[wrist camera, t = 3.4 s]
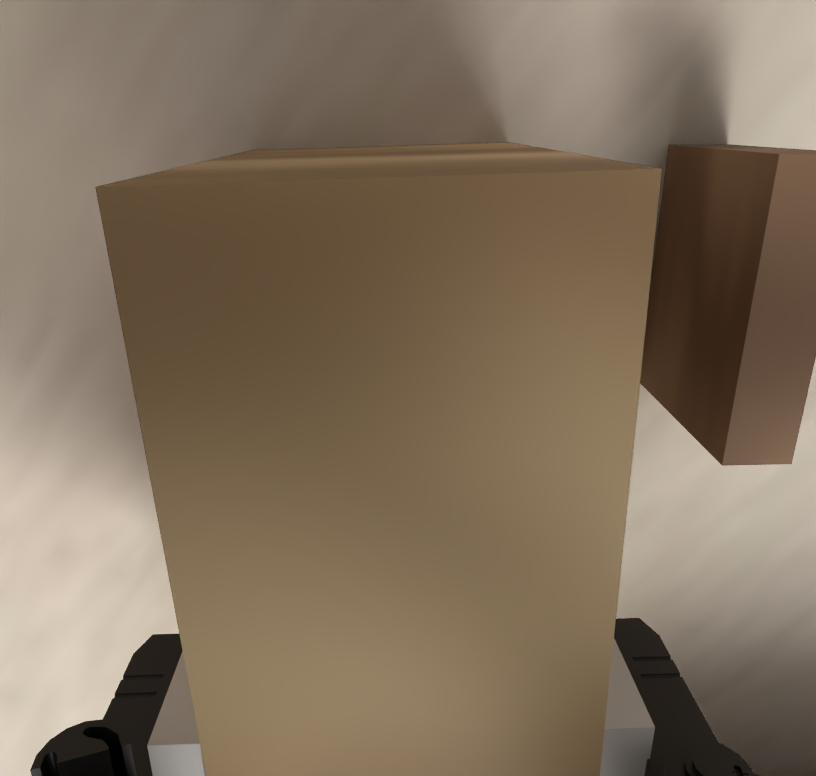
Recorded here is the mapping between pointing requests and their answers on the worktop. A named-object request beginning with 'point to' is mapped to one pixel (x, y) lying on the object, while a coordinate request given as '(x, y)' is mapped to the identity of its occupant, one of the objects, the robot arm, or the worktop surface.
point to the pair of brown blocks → (735, 298)
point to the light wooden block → (390, 446)
